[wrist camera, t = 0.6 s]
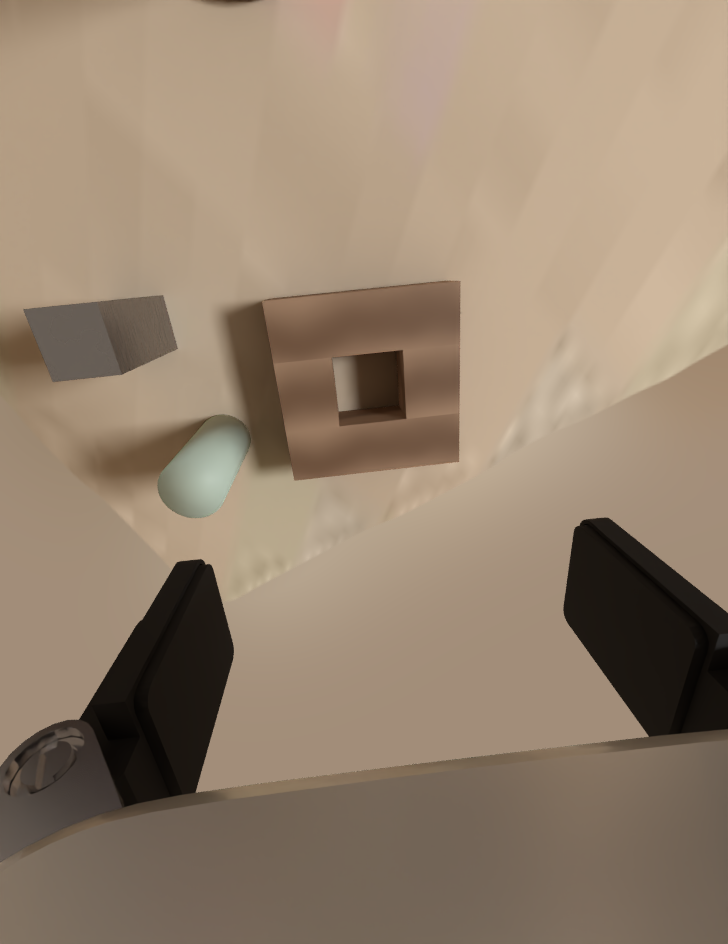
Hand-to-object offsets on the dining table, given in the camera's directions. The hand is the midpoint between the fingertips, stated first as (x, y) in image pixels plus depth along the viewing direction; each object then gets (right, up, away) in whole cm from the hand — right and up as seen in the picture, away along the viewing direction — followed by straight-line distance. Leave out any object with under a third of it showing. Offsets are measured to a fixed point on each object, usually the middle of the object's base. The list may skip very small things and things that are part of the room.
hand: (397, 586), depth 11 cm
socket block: (-1, +11, +25) cm, 27 cm away
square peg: (-18, +15, +22) cm, 32 cm away
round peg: (-13, +6, +26) cm, 30 cm away
